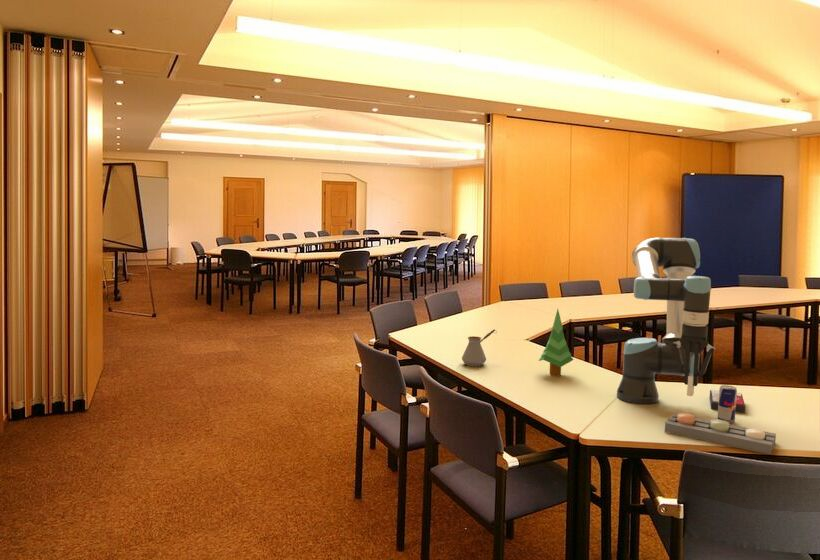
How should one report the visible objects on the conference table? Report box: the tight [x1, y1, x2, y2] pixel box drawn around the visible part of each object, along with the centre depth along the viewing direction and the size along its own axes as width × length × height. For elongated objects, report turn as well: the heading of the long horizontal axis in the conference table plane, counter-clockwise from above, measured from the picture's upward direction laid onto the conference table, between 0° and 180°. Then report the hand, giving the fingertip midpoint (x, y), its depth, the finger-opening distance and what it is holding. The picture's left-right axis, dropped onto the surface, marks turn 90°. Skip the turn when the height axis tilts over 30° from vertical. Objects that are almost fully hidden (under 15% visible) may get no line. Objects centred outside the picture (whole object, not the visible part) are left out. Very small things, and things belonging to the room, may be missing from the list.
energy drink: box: [717, 384, 738, 424], centre depth 207 cm, size 5×5×12 cm
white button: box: [745, 428, 766, 440], centre depth 185 cm, size 5×5×3 cm
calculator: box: [708, 389, 746, 414], centre depth 225 cm, size 11×4×15 cm
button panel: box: [664, 413, 777, 455], centre depth 192 cm, size 30×12×3 cm, turn 53°
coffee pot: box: [461, 328, 498, 367], centre depth 284 cm, size 21×12×15 cm, turn 134°
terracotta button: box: [677, 412, 696, 426], centre depth 197 cm, size 5×5×3 cm
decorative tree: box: [538, 308, 574, 377], centre depth 263 cm, size 14×16×30 cm
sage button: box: [710, 419, 730, 433], centre depth 191 cm, size 5×5×3 cm
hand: (690, 394), depth 196 cm, fingers closed
